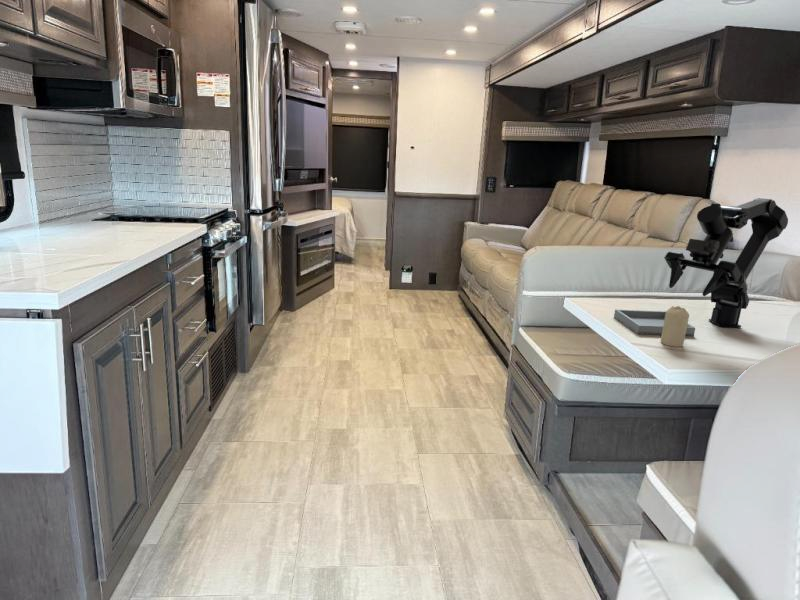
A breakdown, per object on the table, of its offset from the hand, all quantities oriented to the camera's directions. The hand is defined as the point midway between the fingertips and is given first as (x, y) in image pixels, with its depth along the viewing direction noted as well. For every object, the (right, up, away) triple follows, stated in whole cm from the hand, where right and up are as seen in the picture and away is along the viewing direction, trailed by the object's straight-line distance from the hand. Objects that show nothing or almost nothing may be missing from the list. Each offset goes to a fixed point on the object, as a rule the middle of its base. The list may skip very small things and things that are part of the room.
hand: (686, 291), depth 149 cm
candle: (-5, -14, -3) cm, 15 cm away
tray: (-4, -10, +12) cm, 16 cm away
